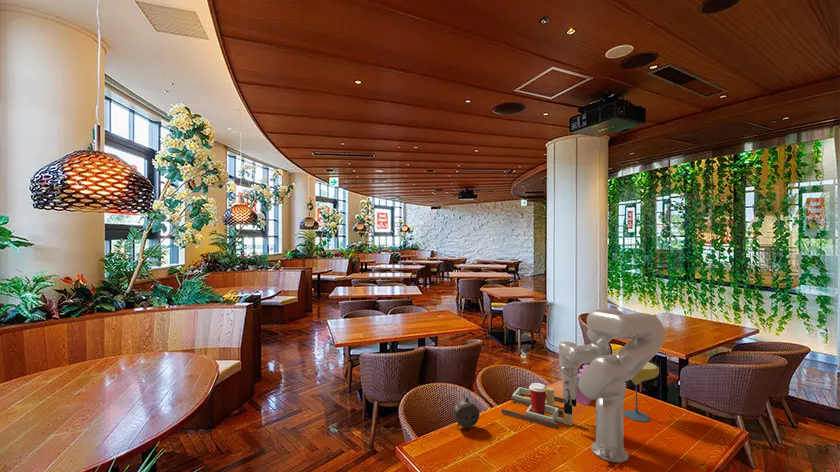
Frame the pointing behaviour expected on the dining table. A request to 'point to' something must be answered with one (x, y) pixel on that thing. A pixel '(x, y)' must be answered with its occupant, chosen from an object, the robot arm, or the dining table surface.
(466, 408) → the alarm clock
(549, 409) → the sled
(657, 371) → the cocktail glass
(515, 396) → the square frame with handle
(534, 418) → the lane rails
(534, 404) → the paper cup
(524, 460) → the dining table surface
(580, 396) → the gum box
